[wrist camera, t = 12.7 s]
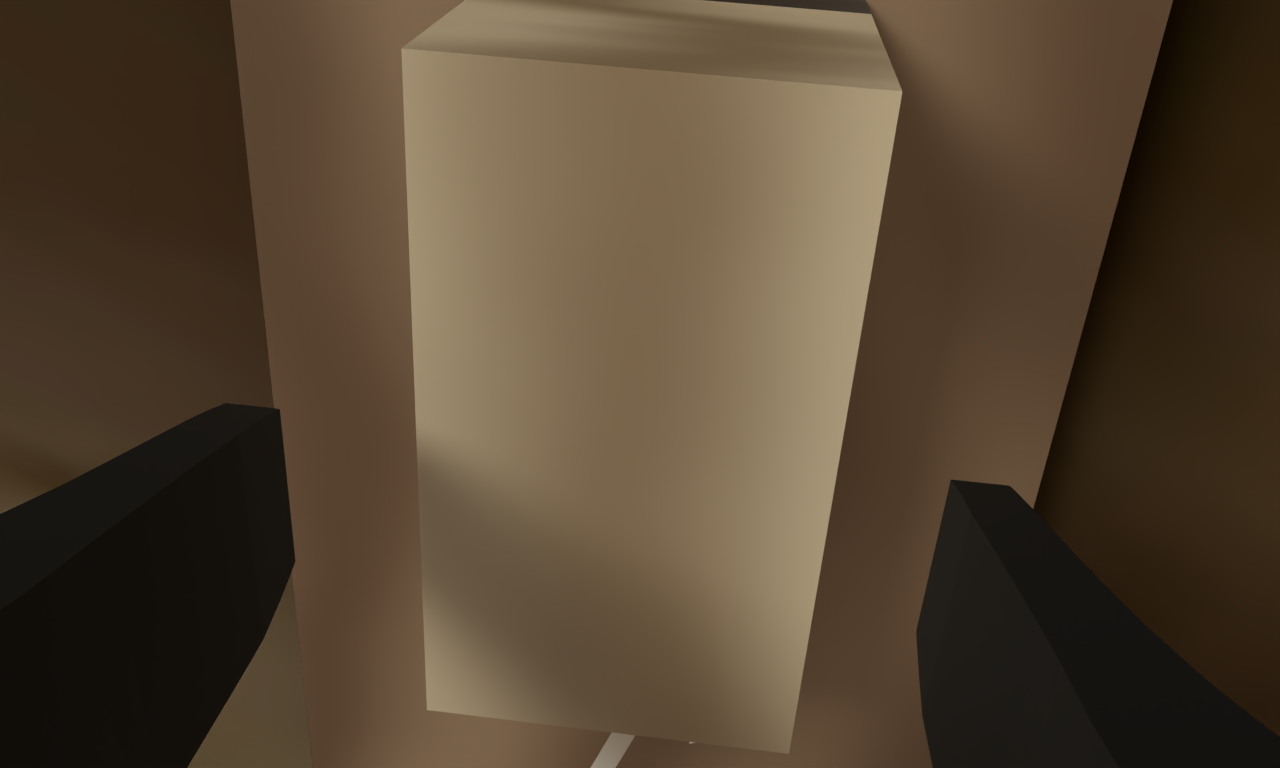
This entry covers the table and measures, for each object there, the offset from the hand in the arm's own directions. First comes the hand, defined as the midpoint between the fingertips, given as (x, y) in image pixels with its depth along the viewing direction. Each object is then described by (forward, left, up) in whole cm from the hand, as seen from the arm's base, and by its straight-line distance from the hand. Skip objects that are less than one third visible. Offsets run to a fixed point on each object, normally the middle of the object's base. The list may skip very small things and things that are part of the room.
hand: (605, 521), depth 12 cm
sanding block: (0, 0, -6) cm, 6 cm away
